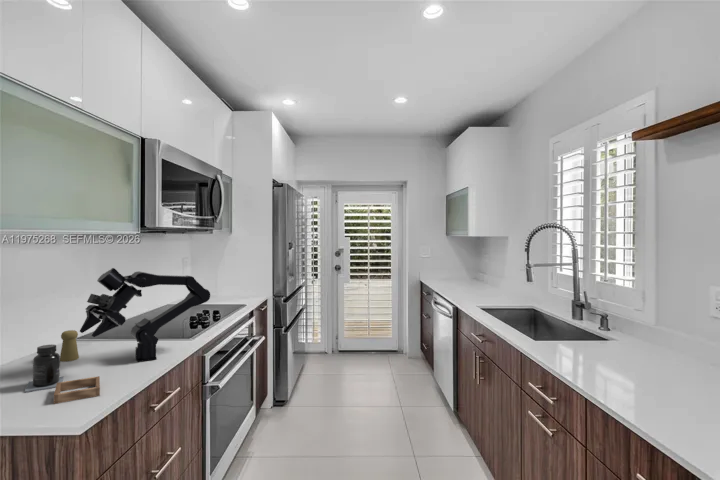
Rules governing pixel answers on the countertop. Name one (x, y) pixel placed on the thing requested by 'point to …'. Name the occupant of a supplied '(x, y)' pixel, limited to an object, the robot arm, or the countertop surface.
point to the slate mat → (33, 388)
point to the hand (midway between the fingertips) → (86, 334)
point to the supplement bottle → (46, 366)
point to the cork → (69, 346)
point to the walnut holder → (78, 393)
